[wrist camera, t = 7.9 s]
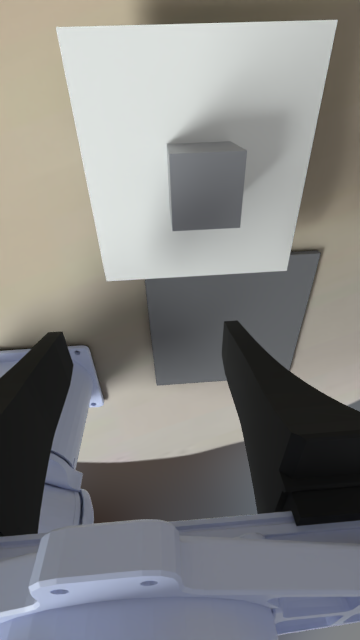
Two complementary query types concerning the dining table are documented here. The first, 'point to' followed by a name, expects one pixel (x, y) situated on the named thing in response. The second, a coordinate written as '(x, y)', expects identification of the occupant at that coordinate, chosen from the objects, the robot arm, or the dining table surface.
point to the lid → (196, 140)
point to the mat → (225, 317)
